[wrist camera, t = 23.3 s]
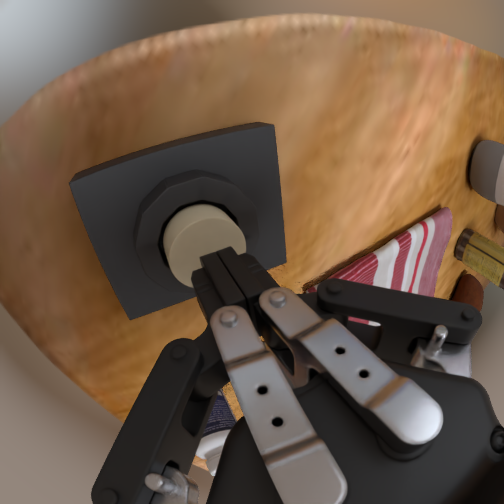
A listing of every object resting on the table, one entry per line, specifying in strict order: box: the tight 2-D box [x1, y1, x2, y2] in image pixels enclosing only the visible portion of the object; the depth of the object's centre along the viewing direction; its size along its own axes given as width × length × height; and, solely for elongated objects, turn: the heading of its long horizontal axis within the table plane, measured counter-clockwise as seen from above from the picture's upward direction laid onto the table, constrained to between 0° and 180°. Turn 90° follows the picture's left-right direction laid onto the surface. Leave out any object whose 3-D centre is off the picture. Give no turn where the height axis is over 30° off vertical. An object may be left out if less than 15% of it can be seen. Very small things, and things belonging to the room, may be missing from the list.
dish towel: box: [306, 207, 452, 326], centre depth 32 cm, size 17×23×3 cm
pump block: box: [69, 122, 287, 320], centre depth 17 cm, size 12×10×4 cm
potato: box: [452, 274, 484, 312], centre depth 47 cm, size 8×12×8 cm, turn 21°
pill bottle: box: [196, 389, 237, 476], centre depth 24 cm, size 5×5×10 cm
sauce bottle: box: [455, 229, 504, 289], centre depth 33 cm, size 6×6×20 cm
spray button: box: [163, 204, 246, 288], centre depth 15 cm, size 4×4×2 cm
